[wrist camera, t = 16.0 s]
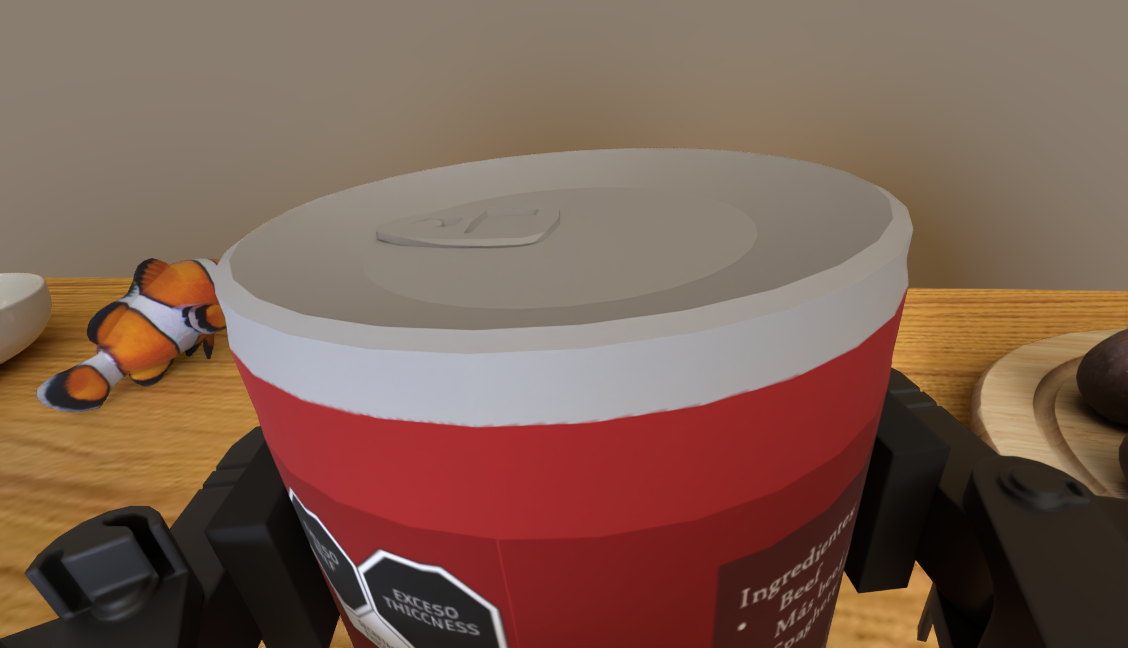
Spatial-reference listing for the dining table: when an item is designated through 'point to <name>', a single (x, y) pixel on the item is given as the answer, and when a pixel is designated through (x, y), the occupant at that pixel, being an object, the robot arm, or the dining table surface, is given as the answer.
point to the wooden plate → (1061, 406)
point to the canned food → (577, 393)
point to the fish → (142, 333)
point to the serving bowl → (22, 311)
